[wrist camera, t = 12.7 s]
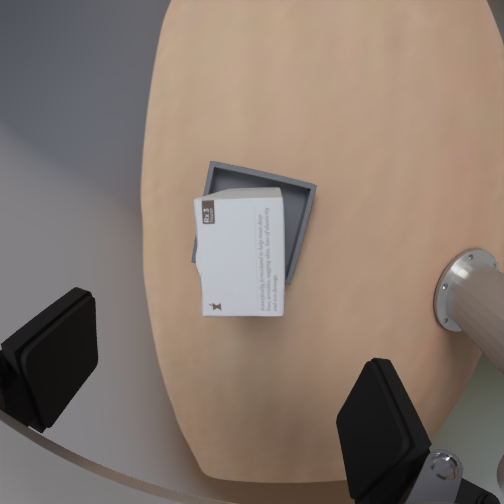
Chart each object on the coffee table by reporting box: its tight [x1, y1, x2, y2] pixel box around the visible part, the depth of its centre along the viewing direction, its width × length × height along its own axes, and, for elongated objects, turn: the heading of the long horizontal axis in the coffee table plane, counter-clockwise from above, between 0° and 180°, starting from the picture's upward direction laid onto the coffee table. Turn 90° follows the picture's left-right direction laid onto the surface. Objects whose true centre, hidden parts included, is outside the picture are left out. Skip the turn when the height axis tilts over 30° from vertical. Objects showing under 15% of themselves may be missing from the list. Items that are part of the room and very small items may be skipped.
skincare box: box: [193, 187, 285, 317], centre depth 26 cm, size 8×6×15 cm
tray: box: [191, 161, 317, 285], centre depth 32 cm, size 11×11×3 cm
